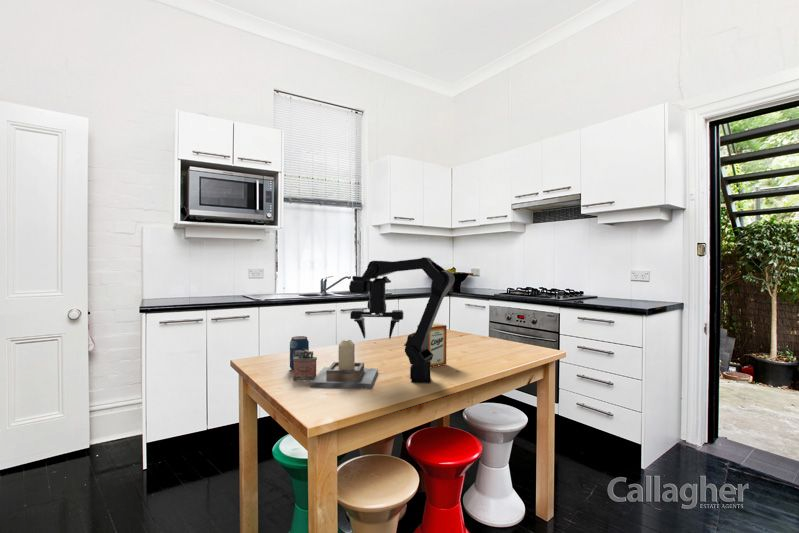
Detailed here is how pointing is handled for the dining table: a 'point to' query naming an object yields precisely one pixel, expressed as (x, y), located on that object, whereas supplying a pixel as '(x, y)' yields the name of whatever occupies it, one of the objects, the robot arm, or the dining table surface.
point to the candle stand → (345, 377)
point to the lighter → (304, 365)
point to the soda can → (297, 347)
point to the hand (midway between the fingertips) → (377, 338)
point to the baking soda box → (437, 344)
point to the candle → (346, 355)
